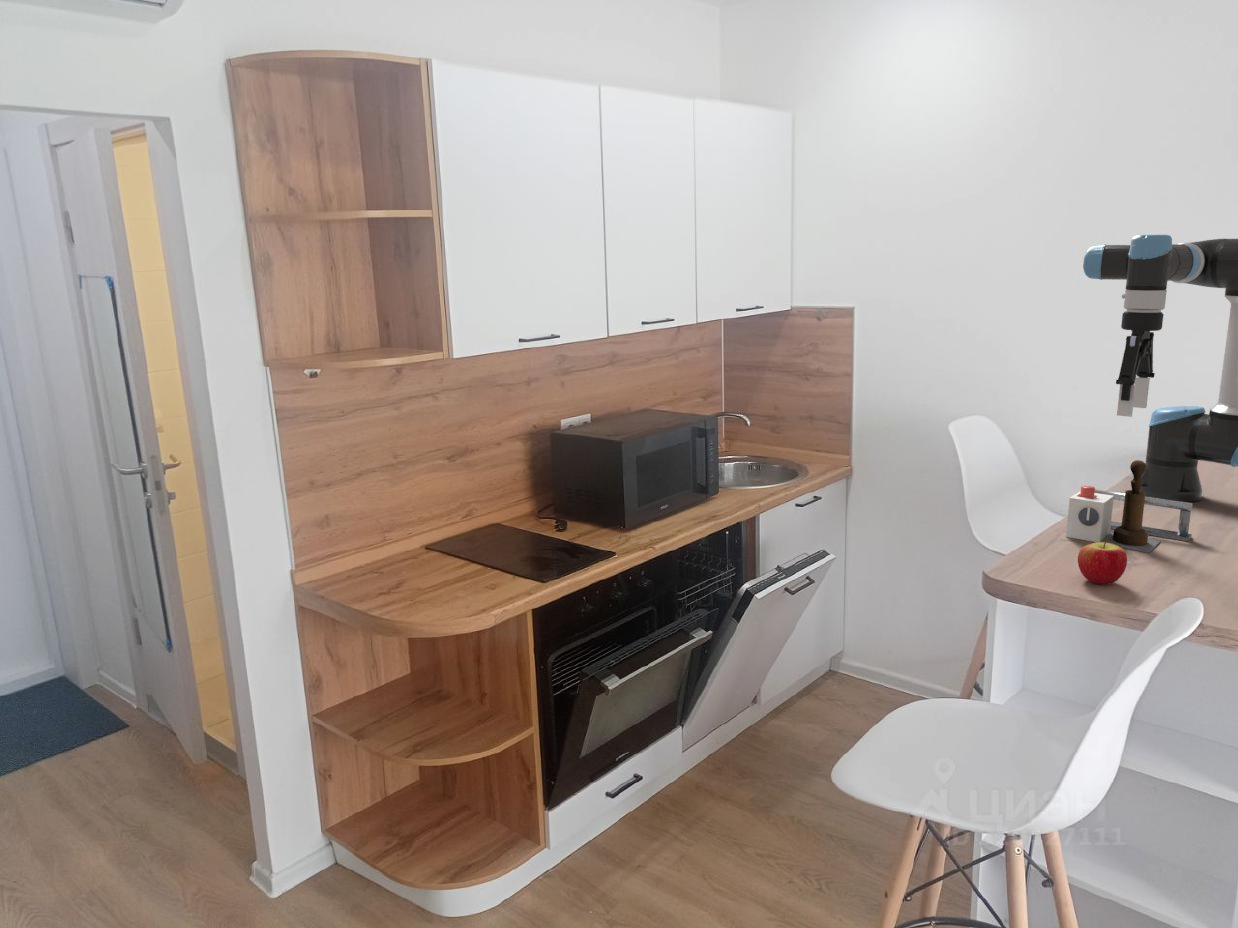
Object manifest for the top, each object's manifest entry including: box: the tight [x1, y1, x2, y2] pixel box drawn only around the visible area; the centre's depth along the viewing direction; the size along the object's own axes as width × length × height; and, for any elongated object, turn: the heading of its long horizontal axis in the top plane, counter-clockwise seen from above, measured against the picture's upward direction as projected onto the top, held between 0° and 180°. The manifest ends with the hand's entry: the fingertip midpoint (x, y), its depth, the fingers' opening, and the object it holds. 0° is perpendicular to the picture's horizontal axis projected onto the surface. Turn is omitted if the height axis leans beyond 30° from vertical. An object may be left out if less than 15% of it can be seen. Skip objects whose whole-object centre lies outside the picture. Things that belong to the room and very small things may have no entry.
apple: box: [1077, 535, 1128, 586], centre depth 182 cm, size 8×8×10 cm
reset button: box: [1079, 485, 1096, 499], centre depth 212 cm, size 3×3×4 cm
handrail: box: [1095, 488, 1193, 542], centre depth 215 cm, size 4×21×8 cm, turn 49°
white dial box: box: [1065, 490, 1115, 543], centre depth 212 cm, size 9×7×9 cm
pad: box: [1100, 531, 1162, 554], centre depth 207 cm, size 10×10×1 cm
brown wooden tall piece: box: [1112, 459, 1149, 546], centre depth 205 cm, size 7×6×18 cm
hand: (1131, 411), depth 203 cm, fingers open, 13 cm apart
